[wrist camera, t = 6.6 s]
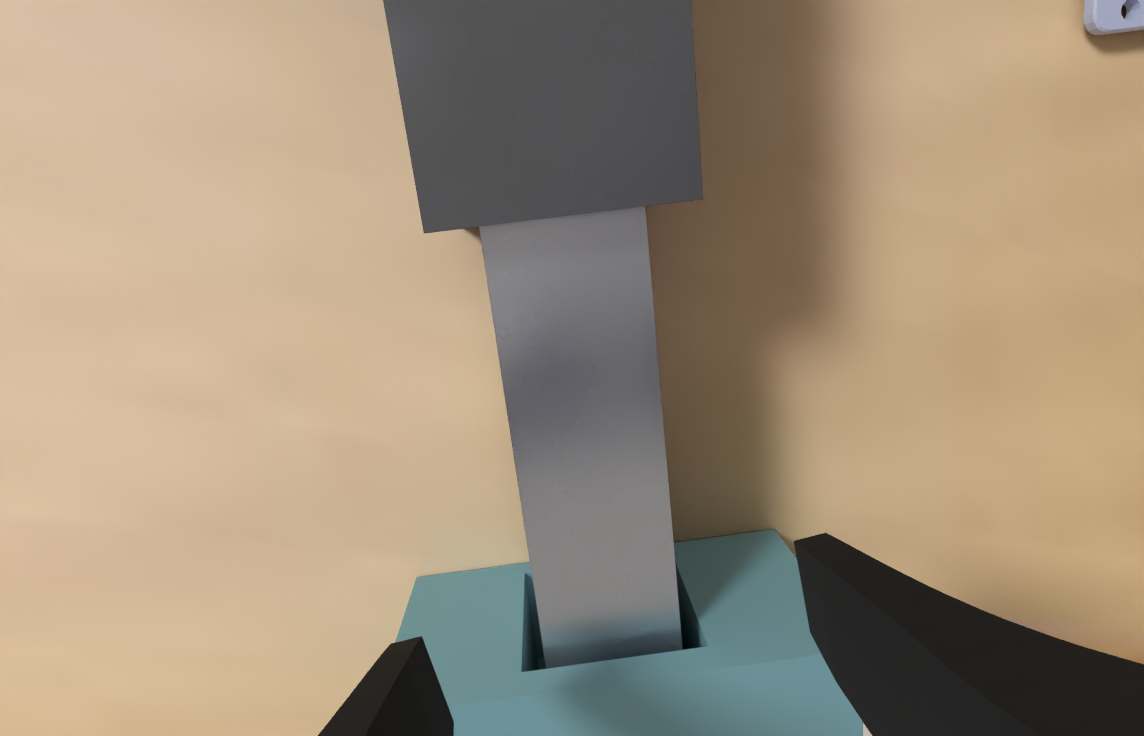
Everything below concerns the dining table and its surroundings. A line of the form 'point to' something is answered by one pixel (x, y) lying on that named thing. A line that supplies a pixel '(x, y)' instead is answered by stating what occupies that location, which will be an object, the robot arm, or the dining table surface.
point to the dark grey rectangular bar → (546, 106)
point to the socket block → (642, 683)
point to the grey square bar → (587, 430)
